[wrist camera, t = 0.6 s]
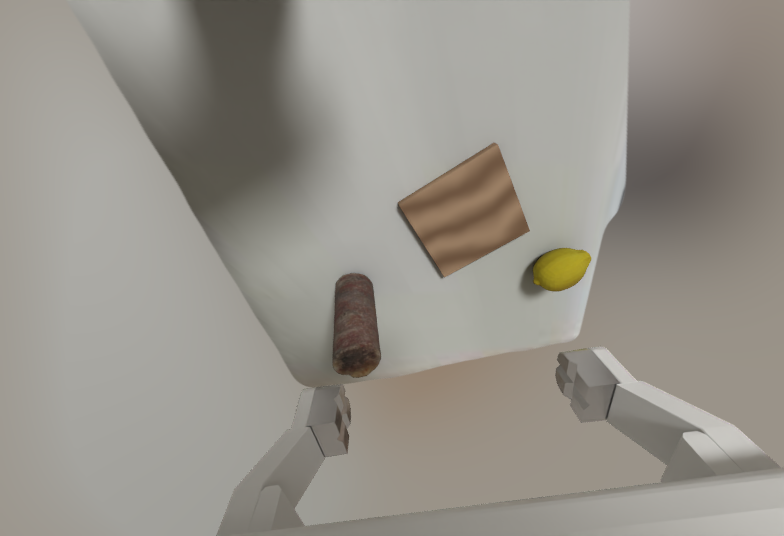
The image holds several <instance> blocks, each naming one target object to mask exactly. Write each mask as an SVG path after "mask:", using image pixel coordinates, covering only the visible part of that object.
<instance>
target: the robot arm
mask: <svg viewBox="0 0 784 536" xmlns="http://www.w3.org/2000/svg"><path fill="white" fill-rule="evenodd" d="M557 361H558V362H559V364H560V365H559V366H558V367H557V368H556V375H555V376H556V381H557V384H558V386H559V388H560V390H561V392H562V393H563V395H564V396H566V397H568V398H569V399H571V404H570V406H571V407H572V409H573V411H574V412H575V414H576V415H577V417H578V418H579V420H580V422H581V423H582V422H592V421H602V420H607V422H608V423H609V424H611V425H612V426H614V427H615V428H616V429H618V430H619V431H620V432H622V433H623V434H625V435H626V436H627V437H629V438H630V439H632V440H633V441H634V442H636V443H637V444H638V445H640V446H642V447H643V448H644V449H645V450H647V451H648V452H649V453H651V454H652V455H654V456H655V457H657V458H658V459H659V460H660V461H662V462H663V463H665V464H666V465H667V467H666V469H665V471H664V473H663V475H662V478H661V483H653V484H645V485H637V486H629V487H621V488H613V489H604V490H596V491H588V492H580V493H571V494H563V495H555V496H547V497H538V498H530V499H522V500H513V501H505V502H497V503H489V504H481V505H473V506H465V507H456V508H448V509H440V510H432V511H424V512H416V513H409V514H400V515H392V516H383V517H375V518H367V519H359V520H351V521H343V522H334V523H326V524H319V525H310V526H305V525H304V524H303V522H302V521H301V519H300V517H299V516H298V514H297V513H296V511H295V507H296V505H297V504H298V502H299V500H300V499H301V497H302V496H303V494H304V492H305V491H306V489H307V487H308V486H309V484H310V482H311V481H312V479H313V478H314V476H315V474H316V473H317V471H318V469H319V468H320V466H321V464H322V463H323V461H324V460H325V458H324V457H329V456H336V455H342V454H347V453H348V443H349V434H348V431H347V428H348V427H349V425H350V422H351V421H350V420H351V408H350V403H349V400H348V398H347V397H345V389H344V386H343V385H342V384H340V385H332V386H323V387H316V388H308V389H303V391H302V392H301V395H300V398H299V402H298V405H297V409H296V413H295V416H294V420H293V424H292V427H291V429H289V430H286V431H285V433H284V434H283V435H282V436H281V437H280V438H279V439H278V440H277V442H276V443H275V444H274V445H273V446H272V447H271V449H270V450H269V451H268V452H267V453H266V454H265V455H264V456H263V457H262V459H261V460H260V461H259V462H258V463H257V464H256V465H255V466H254V468H253V469H252V470H251V471H250V472H249V473H248V474H247V475H246V477H245V478H244V479H243V480H242V481H241V482H240V483H239V485H238V486H237V487H236V488H235V489H234V491H233V494H232V496H231V499H230V501H229V504H228V507H227V509H226V512H225V515H224V517H223V520H222V522H221V525H220V527H219V530H218V533H217V535H216V536H784V467H783V468H781V467H780V466H779V465H778V464H777V463H775V461H773V460H772V459H771V458H770V457H769V456H768V455H767V454H766V453H765V452H763V451H762V450H761V449H760V448H759V447H758V446H756V444H754V443H753V442H752V441H751V440H750V439H749V438H748V437H747V436H746V435H744V434H743V433H742V432H741V431H740V430H739V429H738V428H737V427H736V426H734V425H733V424H731V423H729V422H726V421H724V420H722V419H720V418H718V417H716V416H714V415H712V414H710V413H708V412H706V411H703V410H701V409H699V408H697V407H695V406H693V405H691V404H689V403H687V402H685V401H683V400H681V399H679V398H676V397H674V396H672V395H670V394H668V393H666V392H664V391H662V390H660V389H658V388H656V387H654V386H652V385H649V384H647V383H645V382H643V381H636V379H635V378H634V377H633V376H632V375H631V374H630V373H629V372H628V371H627V370H626V369H625V368H624V367H623V366H622V365H621V364H620V363H619V361H618V360H617V359H616V358H615V357H614V356H613V355H612V354H611V353H610V352H609V351H608V350H607V349H606V348H605V347H603V346H601V347H594V348H588V349H579V350H573V351H567V352H561V353H559V355H558V358H557Z"/></svg>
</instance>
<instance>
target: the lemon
mask: <svg viewBox="0 0 784 536" xmlns="http://www.w3.org/2000/svg"><path fill="white" fill-rule="evenodd" d="M590 261H591V256H590V254H589V253H587V252H586V251H584V250H574V249H571V248H559V249H555V250H552V251H549V252H547V253H545V254H544V255H543V256H541V257H540V258H539V259H538V260H537V262H536V263H535V265H534V267H533V274H534V280H533V283H534V284H536V285H540V286H541V287H543V288H544V289H546V290H549V291H562V290H565V289H568V288H570V287H572V286H574V285H575V284H577V283H578V282H579V281H580V280H581V279H582V277H583V276H584V274H585V272H586V269H587V267H588V265H589V263H590Z"/></svg>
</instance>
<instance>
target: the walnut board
mask: <svg viewBox="0 0 784 536" xmlns="http://www.w3.org/2000/svg"><path fill="white" fill-rule="evenodd" d="M398 204H399V206H400V208H401V210H402V211H403V213H404V214H405V216H406V217H407V219H408V221H409V222H410V224H411V225H412V227H413V228H414V230H415V232H416V233H417V235H418V236H419V238H420V239H421V241H422V243H423V244H424V246H425V247H426V249H427V250H428V252H429V254H430V255H431V257H432V258H433V260H434V261H435V263H436V265H437V266H438V268H439V269H440V271H441V272H442V274H443V276H444V277H446V276H448V275H450V274H451V273H453V272H455V271H457V270H459V269H461V268H462V267H464V266H466V265H468V264H470V263H472V262H473V261H475V260H477V259H479V258H481V257H483V256H484V255H486V254H488V253H490V252H492V251H494V250H496V249H497V248H499V247H501V246H503V245H505V244H507V243H508V242H510V241H512V240H514V239H516V238H518V237H519V236H521V235H523V234H525V233H527V232H529V231H530V230H529V227H528V225H527V222H526V219H525V217H524V214H523V211H522V208H521V206H520V203H519V200H518V198H517V195H516V192H515V190H514V187H513V184H512V181H511V179H510V176H509V173H508V171H507V168H506V165H505V162H504V160H503V157H502V154H501V152H500V149H499V146H498V144H496V143H493V144H491V145H489V146H488V147H486V148H485V149H483V150H481V151H480V152H478V153H477V154H475V155H473V156H472V157H470V158H469V159H467V160H465V161H464V162H462V163H461V164H459V165H457V166H456V167H454V168H452V169H451V170H449V171H448V172H446V173H444V174H443V175H441V176H440V177H438V178H436V179H435V180H433V181H432V182H430V183H428V184H427V185H425V186H424V187H422V188H420V189H419V190H417V191H415V192H414V193H412V194H411V195H409V196H407V197H406V198H404V199H403V200H401V201H399V202H398Z"/></svg>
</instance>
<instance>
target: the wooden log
mask: <svg viewBox="0 0 784 536" xmlns="http://www.w3.org/2000/svg"><path fill="white" fill-rule="evenodd" d="M380 360H381V351H380V345H379V335H378V328H377V317H376V309H375V299H374V291H373V284H372V282H371V281H370V279H369V278H368V277H366V276H365V275H362V274H356V273H350V274H347V275H343V276H342V277H341V278H339V280H338V281H337V282H336V290H335V316H334V341H333V368H334V370H335V371H336V372H337V373H339V374H342V375H350V376H352V377H353V378H354V377H356V378H359V377H363V376H367V375H368V374H369V373H371V372H372V371H373V370H374V369H375V368H376V367H377V366H378V365H379V362H380Z"/></svg>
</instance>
